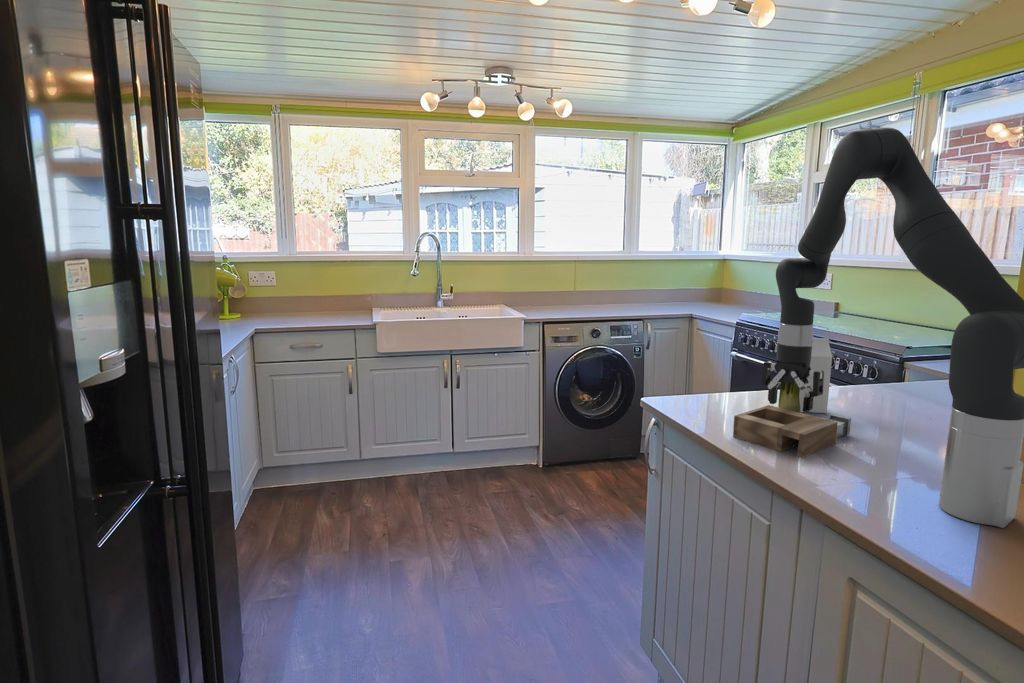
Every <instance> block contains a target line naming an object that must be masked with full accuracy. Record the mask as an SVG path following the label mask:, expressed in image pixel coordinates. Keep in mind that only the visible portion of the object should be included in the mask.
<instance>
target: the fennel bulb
mask: <svg viewBox="0 0 1024 683" xmlns="http://www.w3.org/2000/svg"><path fill="white" fill-rule="evenodd" d="M779 386H780V387H779V396H778V408H783V409H787V410H791V411H795V412H799V413H801V412H800V401H799V392H800V388H799V387H798V385H797V383H796V381H794V385H793V384H791V383H783V381H782V380H781V383H780V385H779Z"/></svg>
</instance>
